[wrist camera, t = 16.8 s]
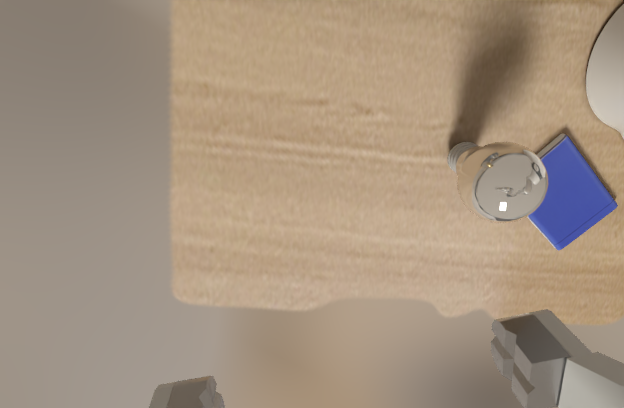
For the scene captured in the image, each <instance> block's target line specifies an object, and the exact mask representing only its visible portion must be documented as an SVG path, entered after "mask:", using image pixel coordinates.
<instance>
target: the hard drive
mask: <svg viewBox="0 0 624 408" xmlns="http://www.w3.org/2000/svg"><path fill="white" fill-rule="evenodd" d="M537 155H538V156H539V158H540V159H541V160H542V162H543V163H544V164H545V167H546V169H547V173H548V178H549V186H548V191H547V194H546V197H545V199H544V201H543V203H542V204H541V205H540V207H539V208H538V209H537V210H536V211H535V212H533V213H532V214H531V215H529V216H527V217H528V218H529V220H530V221H531V222H532V223H533V224H534V225H535V226H536V227H537V229H538V230H539V231H540V232H541V233H542V234H543V235H544V236H545V237H546V239H547V240H548V241H549V242H550V243H551V244H552V245H553V246H554V247H555V248H556V249H557V250H560V249H563V248H564V247H565V246H567V245H568V244H569V243H571V242H572V241H573V240H575V239H576V238H577V237H579V236H580V235H581V234H583V233H584V232H585V231H587V230H588V229H589V228H591V227H592V226H593V225H594V224H596V223H597V222H598V221H600V220H601V219H602V218H604V217H605V216H606V215H608V214H609V213H610V212H612V211H613V210H614V209H615V208H616V207H617V206H618V205H617V203H616V202H615V201H614V199H613V198H612V197H611V195H610V194H609V192H608V191H607V190H606V188H605V187H604V185H603V184H602V183H601V181H600V180H599V179H598V177H597V176H596V174H595V173H594V172H593V170H592V169H591V167H590V166H589V165H588V163H587V162H586V161H585V159H584V158H583V156H582V155H581V154H580V152H579V151H578V150H577V148H576V147H575V145H574V144H573V143H572V141H571V140H570V138H569V137H568V136H567V135H565V134H563V133H561V134H560V135H559V136H558V137H556V138H555V139H554V140H553V141H552V142H551V143H549V144H548V145H547V146H546V147H545V148H544V149H542V150H541V151H540V152H539V153H538V154H537Z"/></svg>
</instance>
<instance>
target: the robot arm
mask: <svg viewBox="0 0 624 408" xmlns="http://www.w3.org/2000/svg"><path fill="white" fill-rule="evenodd" d="M586 91H587V97H588V101H589V104H590V106H591V108H592V110H593V112H594V113H595V115H596V116H597V117H598V118H599V119H600V120H601V121H602V122H603V123H605V124H607V125H608V126H610V127H612V128H614V129H616V130H617V131H619V132H620V133H621V135H622V137H623V139H624V4H623V5H622V6H621V7H620V8H619V9H618V10H617V11H616V12H615V14H614V15H613V16H612V17H611V19H610V20H609V21H608V23H607V24H606V26H605V27H604V29H603V30H602V32H601V34H600V36H599V37H598V39H597V41H596V43H595V46H594V48H593V51H592V53H591V56H590V60H589V63H588V68H587V75H586ZM492 331H493V332H494V334H495V335H496V336H495V338H494V339H493V340H492V341H491V351H492V355H493V359H494V361H495V364H496V366H497V368H498V370H499V371H500V373H501V374H502V376H504V377H506V378H507V379H509V380H511V381H512V389H511V390H512V391H513V393H514V394H515V396H516V397H517V399H518V400H519V402H520V403H521V405H522V406H523V408H551V407H558V408H624V364H623V363H621V362H619V361H617V360H614V359H612V358H610V357H608V356H606V355H603V354H601V353H599V352H596V353H592V352H591V351H590V350H589V349H588V348H587V347H586V346H585V345H584V344H583V343H582V342H581V341H580V340H579V339H578V338H577V337H576V336H575V335H574V334H573V333H572V332H571V331H570V330H569V329H568V328H567V327H566V326H565V325H564V324H563V323H562V322H561V321H560V320H559V319H558V318H557V317H556V316H555V315H554V314H553V313H552V312H551V311H549V310H547V309H546V310H541V311H536V312H531V313H525V314H520V315H515V316H511V317H506V318H501V319H496V320H494V322H493V323H492ZM149 408H225V406H224V401H223V399H222V396H221V394H219V393H217V392H216V381H215V379H214V377H213V376H207V377H201V378H195V379H189V380H183V381H177V382H172V383H167V384H161V385H159V386H158V387H157V388H156V390H155V392H154V394H153V397H152V400H151V404H150V406H149Z"/></svg>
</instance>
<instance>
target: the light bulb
mask: <svg viewBox="0 0 624 408" xmlns="http://www.w3.org/2000/svg"><path fill="white" fill-rule="evenodd" d="M448 165H449V167H450V168H451V169H452V170H453V171H455V172H456V173H457V175H458V180H457V188H458V192H459V195H460V198H461V200H462V202H463V204H464V205H465V206H466V207H467V208H468V210H469V211H470V212H472V213H473V214H475V215H476V216H478V217H479V218H481V219H484V220H486V221H490V222H494V223H511V222H515V221H518V220H521V219H523V218H526V217H527V216H529V215H531V214H532V213H533V212H535V211H536V210H537V209H538V208H539V207H540V205H541V204H542V203H543V201H544V199H545V197H546V194H547V191H548V186H549V178H548V173H547V169H546V167H545V164H544V163H543V162H542V160H541V159H540V158H539V156H538V155H537V154H536V153H534V152H533V151H532V150H530V149H529V148H527V147H525V146H523V145H520V144H517V143H512V142H495V143H491V144H487V145H485V146H478V145H476V144H474V143H472V142H462V143H459V144H457V145H456V146H454V147H453V148H452V149H451V151H450V152H449V154H448Z"/></svg>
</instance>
